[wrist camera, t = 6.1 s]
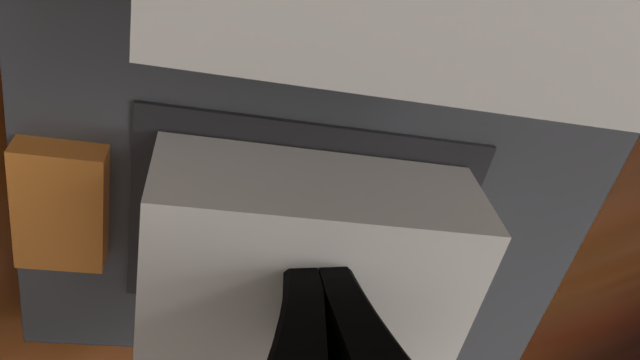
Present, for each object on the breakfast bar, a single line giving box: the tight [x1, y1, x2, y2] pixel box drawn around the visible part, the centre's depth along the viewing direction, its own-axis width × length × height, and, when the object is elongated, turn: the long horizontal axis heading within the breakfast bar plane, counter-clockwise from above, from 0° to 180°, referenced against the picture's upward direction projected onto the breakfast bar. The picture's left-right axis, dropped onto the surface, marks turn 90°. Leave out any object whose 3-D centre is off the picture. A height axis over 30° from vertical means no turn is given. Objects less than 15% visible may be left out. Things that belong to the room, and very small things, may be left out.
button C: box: [133, 131, 512, 360], centre depth 14 cm, size 8×4×3 cm, turn 79°
